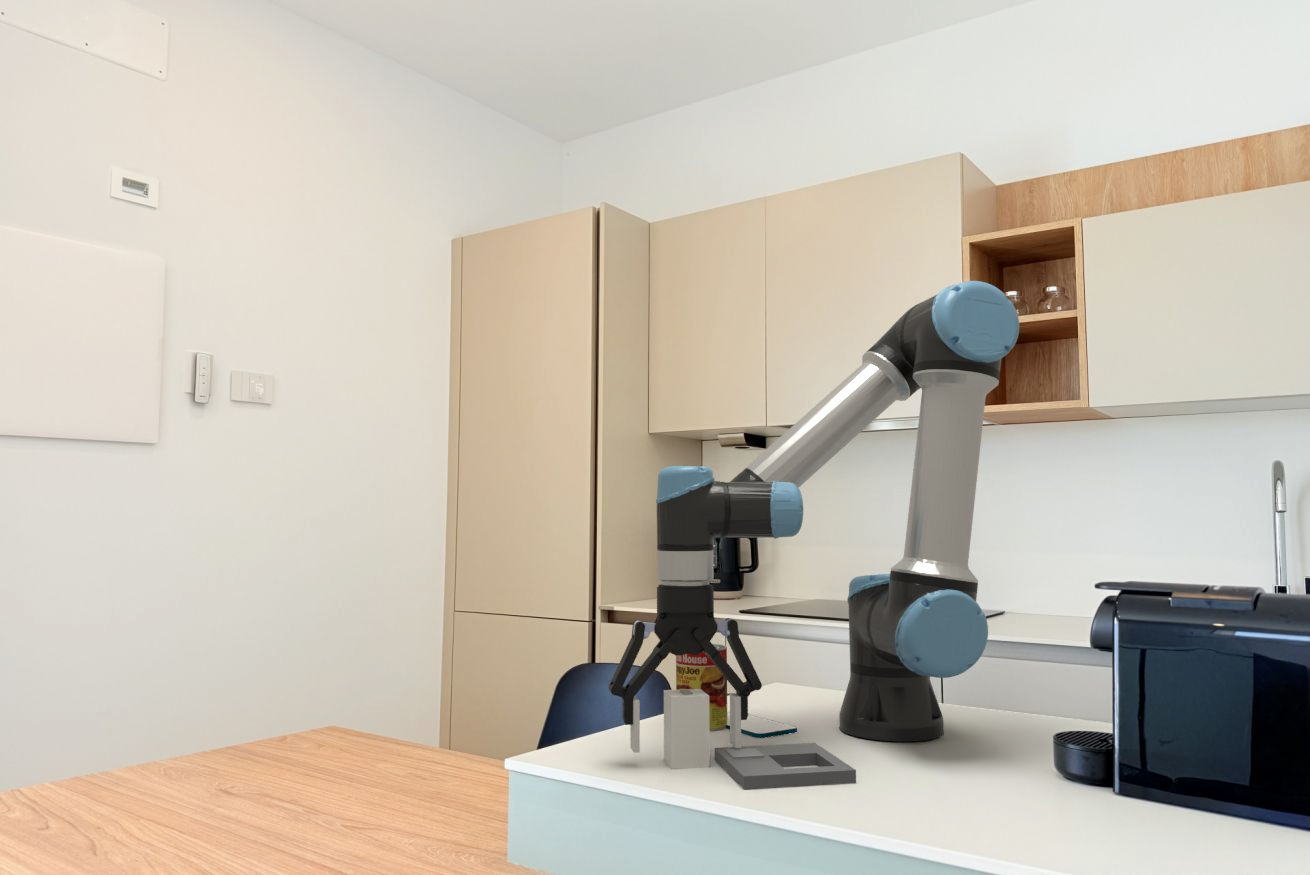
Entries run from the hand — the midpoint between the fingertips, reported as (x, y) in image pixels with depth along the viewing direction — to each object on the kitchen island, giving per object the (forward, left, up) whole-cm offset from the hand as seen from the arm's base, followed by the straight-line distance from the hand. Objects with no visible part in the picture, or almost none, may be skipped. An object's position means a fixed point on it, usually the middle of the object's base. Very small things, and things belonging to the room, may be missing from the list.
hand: (685, 748), depth 122 cm
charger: (0, 0, -2) cm, 2 cm away
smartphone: (-14, -20, -3) cm, 25 cm away
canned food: (-7, -21, -2) cm, 22 cm away
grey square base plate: (-11, +6, -2) cm, 13 cm away
